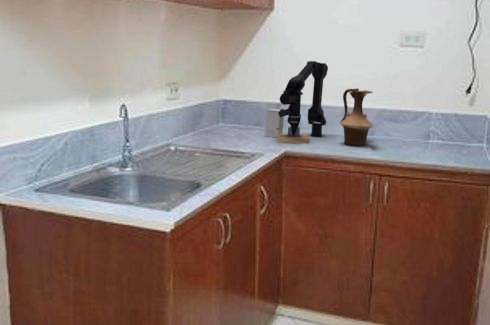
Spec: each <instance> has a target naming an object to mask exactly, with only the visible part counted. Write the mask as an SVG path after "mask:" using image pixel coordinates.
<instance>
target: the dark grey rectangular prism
mask: <svg viewBox="0 0 490 325" xmlns="http://www.w3.org/2000/svg"><path fill="white" fill-rule="evenodd" d="M287 134H288V136H290V137H300V134H301V127H300V126H298V128H297V130H296V133H295V135H292V130H291V126H288V127H287Z"/></svg>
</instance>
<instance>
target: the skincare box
mask: <svg viewBox="0 0 490 325" xmlns="http://www.w3.org/2000/svg"><path fill="white" fill-rule="evenodd" d="M280 110H281V109H276V108H267V110H266V118H265V119H266V120H265V130H264V135H265V137H271V138H277V137H278V135H279V133H282V134H283V132H284V130H283V129H284V119H285V118H284V117H285V116H283V117H281V118H280V117H279V114H278V112H279V111H280Z"/></svg>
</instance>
